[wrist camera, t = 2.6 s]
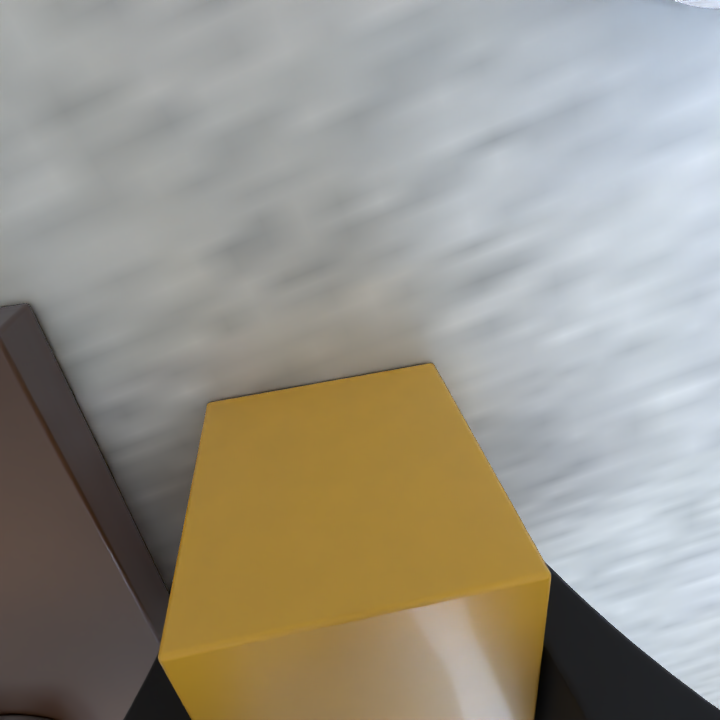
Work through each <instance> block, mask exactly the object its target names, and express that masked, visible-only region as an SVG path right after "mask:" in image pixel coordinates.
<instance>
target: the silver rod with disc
mask: <svg viewBox="0 0 720 720" xmlns="http://www.w3.org/2000/svg"><path fill="white" fill-rule="evenodd" d="M0 720H52V719H47V718H43V717H37V716H28V715H0Z"/></svg>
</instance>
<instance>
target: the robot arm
mask: <svg viewBox="0 0 720 720" xmlns="http://www.w3.org/2000/svg"><path fill="white" fill-rule="evenodd" d="M545 564H546V563H545ZM546 566H547V567H548V569H549V571H550V573H551V583H550V592H549V600H548V608H547V617H546V625H545V634H544V642H543V651H542V659H541V668H540V676H539V685H538V693H537V702H536V710H535V719H534V720H720V710H719V709H718V708H716V707H715V706H713V705H712V704H711V703H709V702H708V701H706V700H705V699H704V698H702V697H701V696H700V695H699V694H697V693H696V692H695V691H693V690H692V689H691V688H689V687H688V686H687V685H685V684H684V683H683V682H681V681H680V680H679V679H677V678H676V677H675V676H673V675H672V674H671V673H670V672H668V671H667V670H666V669H665V668H663V667H662V666H661V665H660V664H658V663H657V662H656V661H655V660H653V659H652V658H651V657H650V656H648V655H647V654H646V653H645V652H643V651H642V650H641V649H640V648H638V647H637V646H636V645H635V644H634V643H632V642H631V641H630V640H629V639H628V638H627V637H625V636H624V635H623V634H622V633H621V632H620V631H618V630H617V629H616V628H615V627H614V626H613V625H611V624H610V623H609V622H608V621H607V620H606V619H605V618H604V617H603V616H601V615H600V614H599V613H598V612H597V611H596V610H595V609H594V608H592V607H591V606H590V605H589V604H588V603H587V602H586V601H585V600H584V599H583V598H582V597H581V596H579V595H578V594H577V593H576V592H575V591H574V590H573V589H572V588H571V587H570V586H569V585H568V584H567V583H566V582H565V581H564V580H563V579H562V578H561V577H560V576H559V575H558V574H557V573H556V572H555V571H554V570H553V569H552V568H551V567H550V566H548V565H547V564H546ZM158 654H159V652H158ZM158 654H157V657H156V659H155V661H154V663H153V665H152V667H151V669H150V671H149V673H148V675H147V677H146V679H145V681H144V683H143V684H142V686H141V688H140V690H139V692H138V694H137V695H136V697H135V699H134V701H133V703H132V705H131V707H130V708H129V710H128V712H127V714H126V716H125V718H124V719H123V720H191V718H190V716H189V714H188V713H187V711H186V709H185V707H184V705H183V704H182V702H181V700H180V698H179V696H178V695H177V693H176V691H175V689H174V687H173V686H172V684H171V682H170V680H169V678H168V677H167V675H166V673H165V671H164V669H163V668H162V666H161V664H160V662H159V659H158Z"/></svg>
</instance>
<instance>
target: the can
mask: <svg viewBox="0 0 720 720" xmlns="http://www.w3.org/2000/svg"><path fill="white" fill-rule="evenodd" d="M674 1H677V2H679V3H682V4H686V5H690V6H695V7H701V8H720V0H674Z"/></svg>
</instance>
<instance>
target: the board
mask: <svg viewBox="0 0 720 720" xmlns="http://www.w3.org/2000/svg"><path fill="white" fill-rule="evenodd" d="M169 597H170V595H169V593H168V591H167V589H166V587H165V585H164V583H163V581H162V579H161V577H160V575H159V573H158V571H157V569H156V566H155V564H154V562H153V560H152V558H151V556H150V554H149V552H148V550H147V548H146V546H145V544H144V542H143V539H142V537H141V535H140V533H139V531H138V529H137V527H136V525H135V523H134V521H133V519H132V517H131V515H130V512H129V510H128V508H127V506H126V504H125V502H124V500H123V498H122V496H121V494H120V492H119V490H118V488H117V485H116V483H115V481H114V479H113V477H112V475H111V473H110V471H109V469H108V467H107V465H106V463H105V461H104V458H103V456H102V454H101V452H100V450H99V448H98V446H97V444H96V442H95V440H94V438H93V436H92V434H91V431H90V429H89V427H88V425H87V423H86V421H85V419H84V417H83V415H82V413H81V411H80V409H79V407H78V404H77V402H76V400H75V398H74V396H73V394H72V392H71V390H70V388H69V386H68V384H67V382H66V380H65V377H64V375H63V373H62V371H61V369H60V367H59V365H58V363H57V361H56V359H55V357H54V355H53V353H52V350H51V348H50V346H49V344H48V342H47V340H46V338H45V336H44V334H43V332H42V330H41V328H40V326H39V323H38V321H37V319H36V317H35V315H34V313H33V311H32V309H31V307H30V306H29V304H19V305H13V306H7V307H0V715H28V716H37V717H43V718H47V719H52V720H123V719H124V718H125V716H126V714H127V712H128V710H129V708H130V707H131V705H132V703H133V701H134V699H135V697H136V695H137V694H138V692H139V690H140V688H141V686H142V684H143V683H144V681H145V679H146V677H147V675H148V673H149V671H150V669H151V667H152V665H153V663H154V661H155V659H156V657H157V654H158V652H159V649H160V644H161V638H162V633H163V628H164V623H165V618H166V613H167V608H168V603H169Z"/></svg>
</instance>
